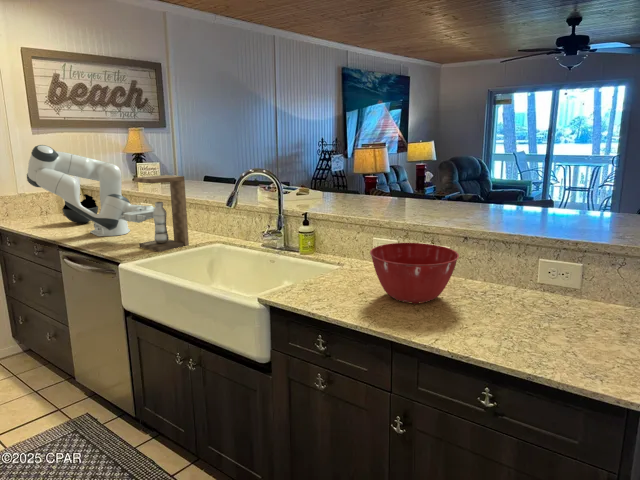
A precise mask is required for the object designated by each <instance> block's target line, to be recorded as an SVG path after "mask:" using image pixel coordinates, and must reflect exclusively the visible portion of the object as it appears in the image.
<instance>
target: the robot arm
mask: <svg viewBox="0 0 640 480" xmlns="http://www.w3.org/2000/svg"><path fill="white" fill-rule="evenodd" d="M27 167H28V168H27V174H26V181H27V182H28V183H29V184H30V185H31V186H33V187H35V188H42V189H44V190H46V191H48V192H49V193H51V194H54V195H57V197H60V198H61V199H62V200H63V201H64V205H65V204H66V205H67V206H68V207H69V208H71V209H72V210H74V211H75V212H77V213H79V214H80V215H82V216H84V217H86V218H87V219H89V220H91V221H90V222H93V228H94V229H92V230H90V234H93V235H94V236H97V237H112V236H113V237H114V236H121V235H122V236H123V235H126V234H128V233H129V232H131V229H130V228H129V226H128V225H129V224H128V222H133V223H143V222H145V221H148V220H150V219H154V218H153V211H154V209H155V208H156V206H153V205H143V204H141V205H140V204H131V201H130V200H129V199H128V198H127V197H125V196H123V195H122V186H123V185H122V184H123V183H122V171H121V168H120V167H119V166H118V165H116V164H114V163H112V162H111V163H110V162H106V161H103V160H97V159H95V158H92V157H91V158H90V157H87V156H82V155H78V154H74V153H69V152H64V151H57V150H55V149H53V148H52V147H51V146H48V145H45V144H39V145H36V146H34V147H33V149H31V154H30V157H29V160H28V166H27ZM75 177H76V178H82V179H85V180H86V179H87V180H92V181H97V182H99V201H100V209H99V210H98V213H97V214H95V213H93V212H92V211H90V210H88V209H87V208H85V207H83V206H82V205H81V203H80V202H81V195H80V194H81V188H80V187H81V186H80V183H79V181H78V179H76V178H75Z"/></svg>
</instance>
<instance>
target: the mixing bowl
mask: <svg viewBox="0 0 640 480" xmlns="http://www.w3.org/2000/svg"><path fill="white" fill-rule="evenodd" d="M369 254H370V256H371V259H372V264H373V268H374V271H375V274H376V277H377V278H378V280H379V283H380V285H381V287H382V288H383V290H384V292H385V293H386V294H387V295H388V296H390V297H392V298H393V299H394V298H395V299H397V300H396V301H398V300H400V301H404V302H403V303H405V302H412V303H411V304H420V303H419V302H426V301H429V302H431V301H433V300H434V299H436V298H438V297H439V296H440V295H441V294H442V293H443V292H444V290H445V288H446V286H447V285H448V284H449V281H450V279H451V277H452V275H453V272H454V270H455V267H456V263H457V262H458V259H459V257H460V255H459V253H458V252H457V251H455V250H454V249H452V248H450V247H445V246H443V245H437V244H431V243H430V244H429V243H420V242H394V243H387V244H386V243H385V244H381V245H378V246H375V247H373V248H371V249H370V252H369ZM395 299H394V300H395ZM430 300H431V301H430ZM400 301H399V302H400ZM426 303H427V302H426Z"/></svg>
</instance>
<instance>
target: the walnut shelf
mask: <svg viewBox="0 0 640 480" xmlns="http://www.w3.org/2000/svg"><path fill="white" fill-rule="evenodd" d="M133 181H134V183H139V184H140V183H142V184H150V185H151V184H152V185H153V184H162V183H169V189H170V201H171V202H170V203H171V205H170V206H171V215H172V216H171V217H172V218H171V219H172V233H173V240H172V239H168V242H166V243H156V242H155V239H154V240H149V241H145V242H140V243H138V244H139V248H141V249H145V250H149V251H154V252H158V253H161V252H165V251H169V250H173V249H174V248H175V249H179V248H183V246H184V247H188V246H189V244H190V243H189V241H190V239H189V228H188V215H187V214H188V213H187V212H188V211H187V200H186V199H187V198H186V197H187V196H186V183H185V176H183V175H172V174H171V175H170V174H165V175H164V174H163V175H153V176H152V175H151V176H139V177H137V176H136V177H133ZM178 247H179V248H178Z"/></svg>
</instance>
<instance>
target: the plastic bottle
mask: <svg viewBox="0 0 640 480" xmlns="http://www.w3.org/2000/svg"><path fill="white" fill-rule="evenodd" d="M163 206H164V202H163V201H155V202H154V207H156V208H155V209H154V211H153V218H152V219H153V221H154V240H155V242H156V243H166V242H168V239H169V234H168V229H167V215H168V214H167V211H166V209H165V208H164V207H163ZM169 240H170V239H169Z"/></svg>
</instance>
